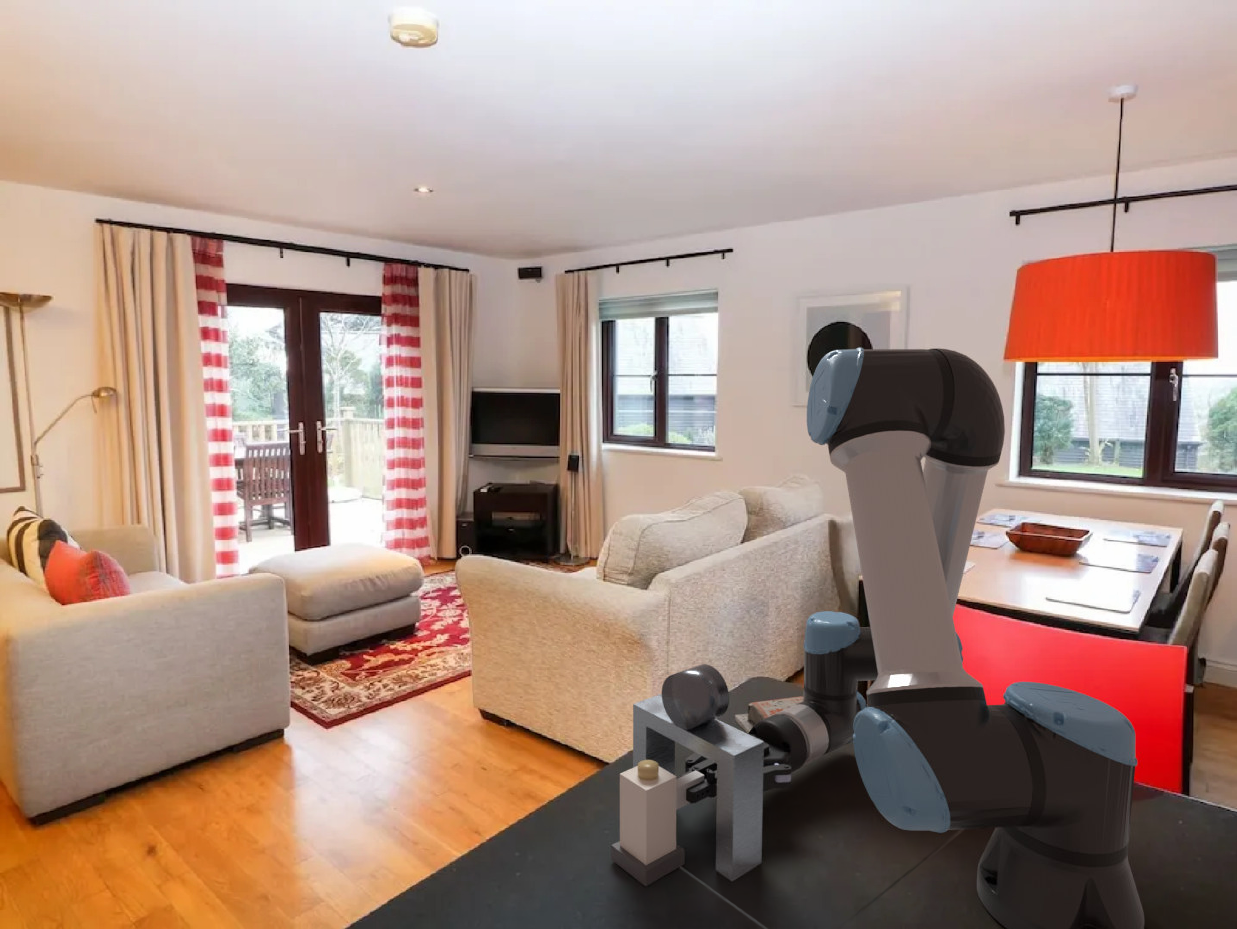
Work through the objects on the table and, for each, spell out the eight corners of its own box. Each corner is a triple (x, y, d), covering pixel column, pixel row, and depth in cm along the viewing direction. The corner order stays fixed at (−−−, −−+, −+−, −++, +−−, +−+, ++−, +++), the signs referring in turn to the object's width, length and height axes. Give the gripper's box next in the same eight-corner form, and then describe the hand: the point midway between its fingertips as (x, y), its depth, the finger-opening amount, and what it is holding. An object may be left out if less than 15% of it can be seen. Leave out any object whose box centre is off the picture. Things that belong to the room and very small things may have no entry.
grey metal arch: (761, 865, 85) (765, 687, 83) (732, 883, 82) (735, 699, 79) (661, 801, 98) (662, 646, 96) (633, 815, 95) (633, 655, 93)
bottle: (684, 864, 85) (685, 766, 83) (645, 886, 81) (645, 785, 80) (649, 839, 89) (650, 747, 88) (611, 859, 85) (611, 763, 84)
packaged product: (831, 684, 126) (865, 709, 116) (830, 711, 126) (864, 738, 117) (734, 696, 121) (761, 723, 111) (733, 724, 121) (761, 753, 112)
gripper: (826, 786, 97) (700, 859, 82) (750, 748, 107) (625, 807, 92) (828, 731, 96) (701, 795, 81) (751, 699, 106) (625, 750, 91)
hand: (661, 801), depth 86 cm, fingers closed
